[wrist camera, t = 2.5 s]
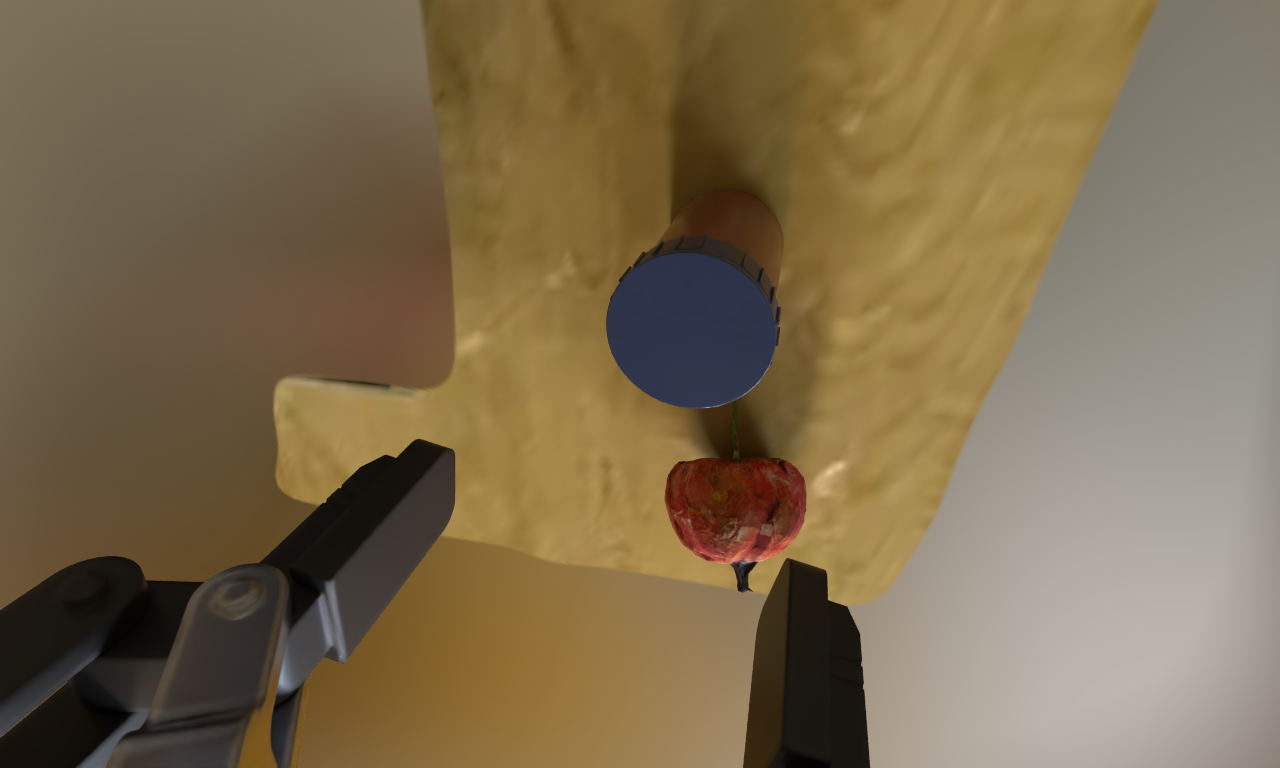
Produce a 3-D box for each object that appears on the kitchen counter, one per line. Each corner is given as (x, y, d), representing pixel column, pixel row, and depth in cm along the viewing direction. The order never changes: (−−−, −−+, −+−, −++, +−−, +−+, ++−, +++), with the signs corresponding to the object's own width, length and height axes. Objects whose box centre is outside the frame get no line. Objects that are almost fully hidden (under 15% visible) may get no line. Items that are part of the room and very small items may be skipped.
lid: (608, 361, 23) (593, 383, 22) (632, 214, 20) (618, 229, 18) (753, 403, 22) (749, 429, 21) (804, 259, 19) (803, 277, 18)
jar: (660, 283, 30) (604, 374, 22) (683, 175, 27) (628, 235, 19) (764, 311, 29) (745, 416, 21) (799, 204, 26) (792, 279, 18)
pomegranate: (675, 403, 36) (664, 570, 35) (666, 389, 29) (652, 599, 28) (799, 410, 35) (792, 583, 34) (822, 398, 28) (814, 617, 27)
